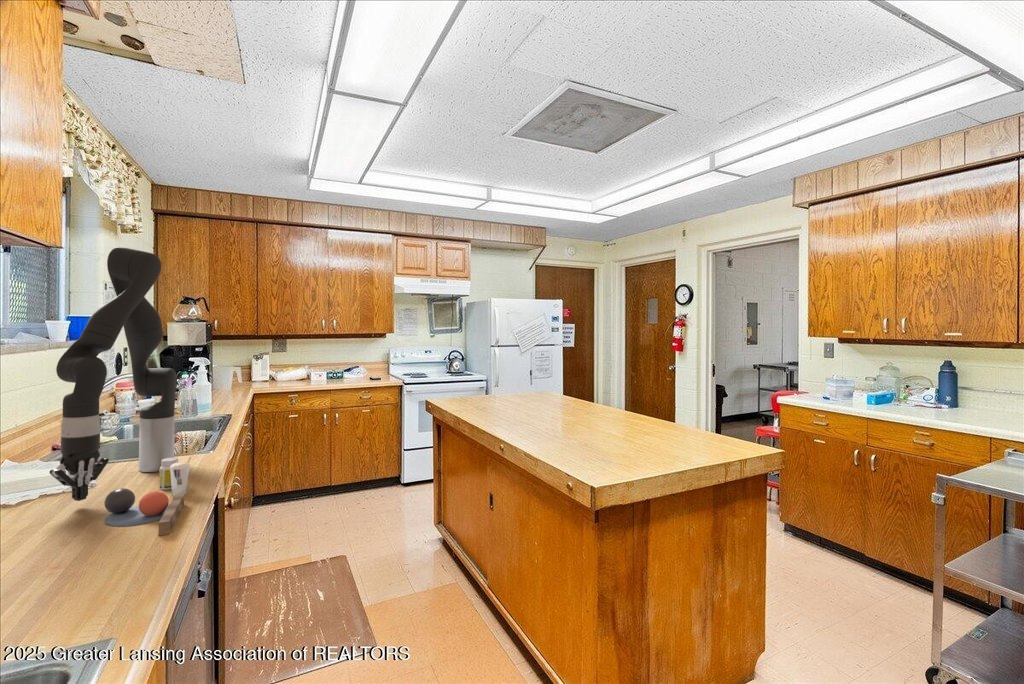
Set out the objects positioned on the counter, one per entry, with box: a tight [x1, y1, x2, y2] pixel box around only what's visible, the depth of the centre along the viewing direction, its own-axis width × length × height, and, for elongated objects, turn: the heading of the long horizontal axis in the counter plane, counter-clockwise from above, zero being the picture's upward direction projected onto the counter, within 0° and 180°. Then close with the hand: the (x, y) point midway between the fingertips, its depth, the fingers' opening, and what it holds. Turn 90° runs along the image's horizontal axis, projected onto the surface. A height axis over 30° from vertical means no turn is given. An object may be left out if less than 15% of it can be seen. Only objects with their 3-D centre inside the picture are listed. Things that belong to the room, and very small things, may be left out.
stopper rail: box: [157, 493, 186, 536], centre depth 117 cm, size 20×2×3 cm, turn 26°
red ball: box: [138, 490, 170, 516], centre depth 119 cm, size 6×6×6 cm
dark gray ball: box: [103, 487, 136, 514], centre depth 120 cm, size 6×6×6 cm
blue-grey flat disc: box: [104, 504, 169, 527], centre depth 119 cm, size 14×14×1 cm
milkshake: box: [170, 456, 192, 497], centre depth 134 cm, size 4×5×10 cm
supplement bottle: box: [158, 457, 179, 491], centre depth 139 cm, size 5×5×8 cm
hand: (80, 499), depth 122 cm, fingers closed
